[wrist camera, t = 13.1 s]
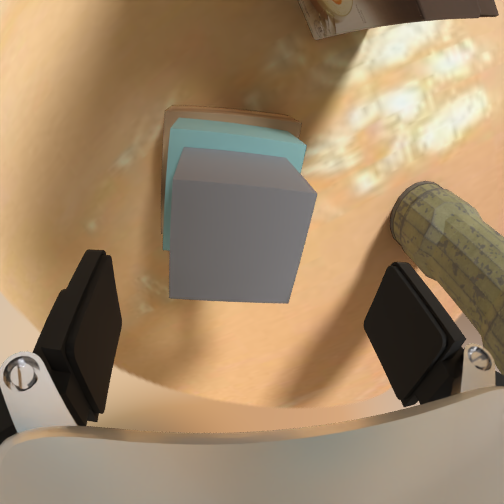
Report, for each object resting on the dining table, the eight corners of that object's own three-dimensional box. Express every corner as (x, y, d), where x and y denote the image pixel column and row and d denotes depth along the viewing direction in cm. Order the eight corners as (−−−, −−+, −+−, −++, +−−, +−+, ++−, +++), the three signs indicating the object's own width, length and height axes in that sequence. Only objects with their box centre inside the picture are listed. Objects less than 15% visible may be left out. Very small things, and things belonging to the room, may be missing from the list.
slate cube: (183, 146, 17) (172, 179, 12) (285, 157, 18) (317, 193, 13) (177, 238, 20) (169, 298, 15) (268, 244, 21) (288, 303, 16)
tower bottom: (173, 104, 24) (165, 110, 20) (286, 115, 26) (301, 123, 22) (167, 209, 29) (161, 234, 25) (270, 215, 31) (280, 239, 27)
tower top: (178, 117, 21) (170, 128, 16) (287, 131, 22) (306, 145, 18) (170, 217, 25) (162, 249, 20) (268, 226, 26) (280, 258, 22)
